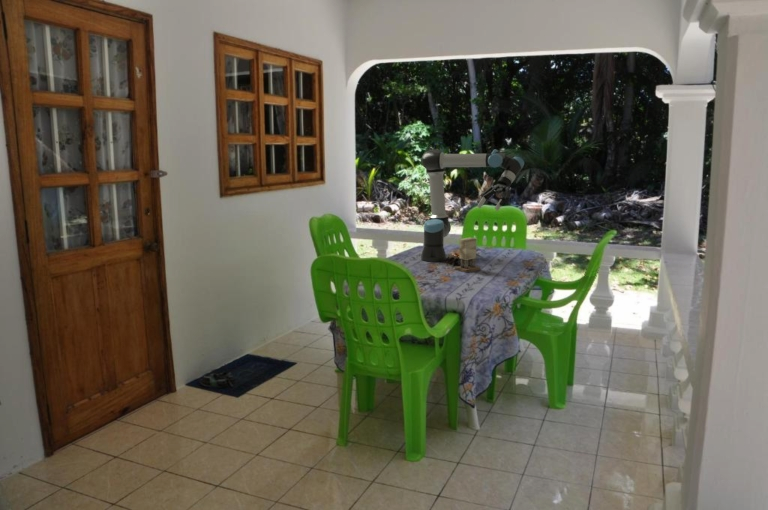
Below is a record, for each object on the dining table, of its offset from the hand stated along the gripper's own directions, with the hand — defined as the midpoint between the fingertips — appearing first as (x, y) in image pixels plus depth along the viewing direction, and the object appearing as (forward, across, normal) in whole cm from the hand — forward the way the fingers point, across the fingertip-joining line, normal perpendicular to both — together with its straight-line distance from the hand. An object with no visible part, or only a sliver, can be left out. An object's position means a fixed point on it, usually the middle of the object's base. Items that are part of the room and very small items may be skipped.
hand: (487, 208), depth 354 cm
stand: (+36, -3, -11) cm, 37 cm away
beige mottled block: (+31, -3, -6) cm, 32 cm away
